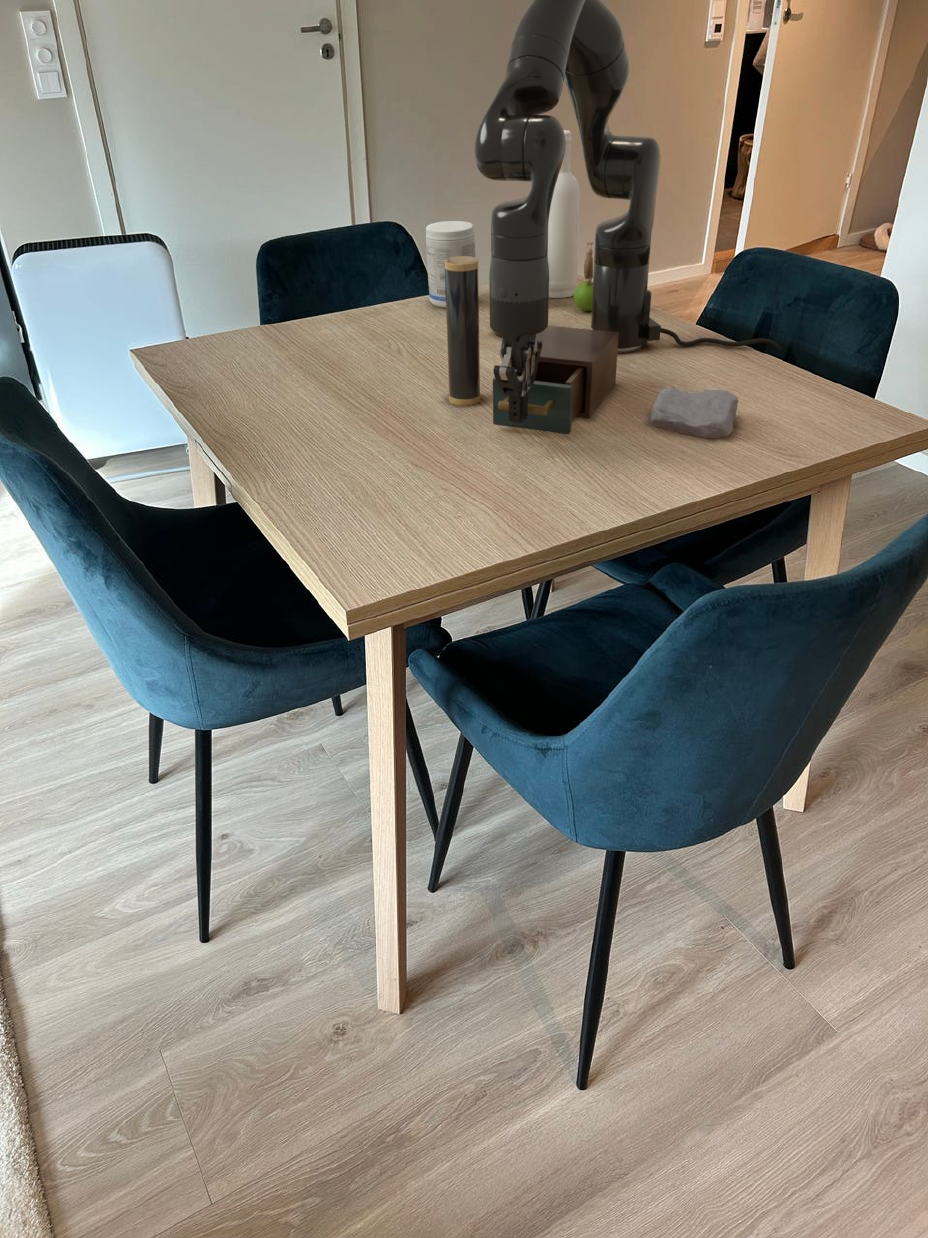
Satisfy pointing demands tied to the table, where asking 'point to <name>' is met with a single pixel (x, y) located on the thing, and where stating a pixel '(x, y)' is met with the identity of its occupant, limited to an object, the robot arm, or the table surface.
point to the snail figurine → (585, 284)
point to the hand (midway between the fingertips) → (518, 420)
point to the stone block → (695, 412)
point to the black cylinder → (463, 329)
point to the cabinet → (584, 359)
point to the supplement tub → (446, 253)
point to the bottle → (564, 230)
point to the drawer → (547, 399)
